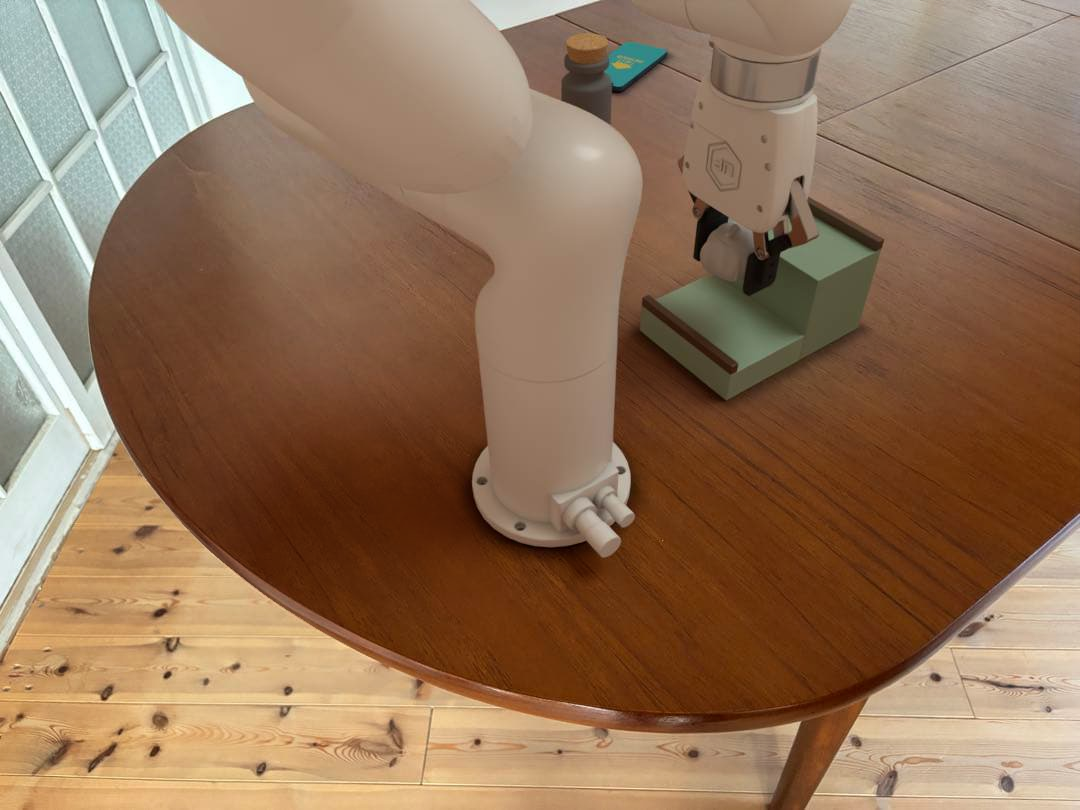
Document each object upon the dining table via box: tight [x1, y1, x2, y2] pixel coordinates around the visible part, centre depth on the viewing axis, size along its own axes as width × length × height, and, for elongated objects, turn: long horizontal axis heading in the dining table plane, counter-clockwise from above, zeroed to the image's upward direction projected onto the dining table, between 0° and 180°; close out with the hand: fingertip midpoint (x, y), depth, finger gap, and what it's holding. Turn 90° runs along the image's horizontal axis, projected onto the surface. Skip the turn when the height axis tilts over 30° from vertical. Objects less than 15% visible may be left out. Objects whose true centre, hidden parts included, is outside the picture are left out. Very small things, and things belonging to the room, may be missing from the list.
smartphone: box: [604, 41, 669, 92], centre depth 125 cm, size 7×1×15 cm
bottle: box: [560, 32, 613, 126], centre depth 100 cm, size 6×6×15 cm
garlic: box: [700, 221, 755, 282], centre depth 73 cm, size 6×5×5 cm
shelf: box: [639, 196, 885, 401], centre depth 79 cm, size 12×17×10 cm
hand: (732, 269), depth 75 cm, fingers closed on garlic, 5 cm apart
